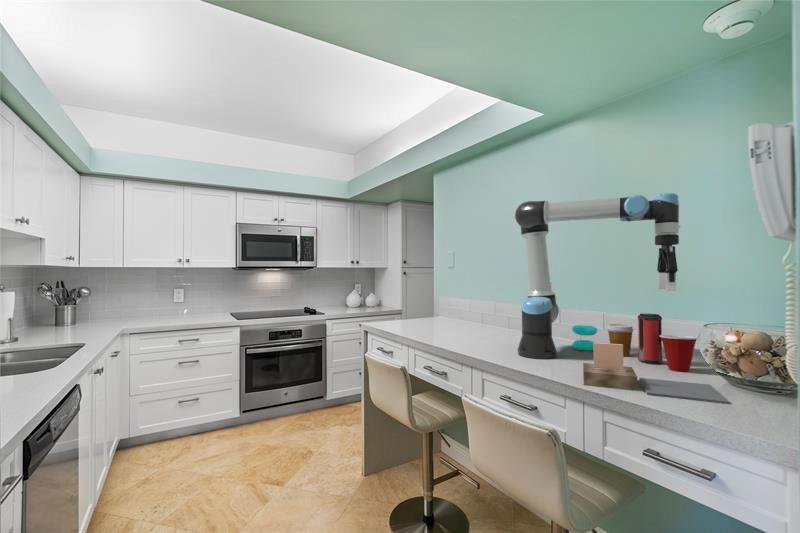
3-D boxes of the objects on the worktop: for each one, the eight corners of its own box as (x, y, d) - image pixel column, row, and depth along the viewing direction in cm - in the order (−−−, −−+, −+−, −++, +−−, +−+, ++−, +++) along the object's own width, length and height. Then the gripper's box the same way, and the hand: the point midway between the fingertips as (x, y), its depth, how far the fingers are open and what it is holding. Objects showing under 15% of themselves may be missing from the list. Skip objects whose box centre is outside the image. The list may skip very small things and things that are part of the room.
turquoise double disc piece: (590, 324, 172) (601, 328, 162) (590, 346, 172) (602, 351, 162) (568, 324, 172) (578, 328, 162) (568, 346, 172) (578, 351, 162)
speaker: (633, 359, 146) (632, 313, 146) (652, 359, 147) (651, 312, 147) (647, 364, 139) (647, 315, 139) (667, 364, 139) (667, 315, 139)
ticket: (594, 381, 119) (593, 343, 119) (594, 380, 120) (593, 342, 120) (623, 384, 116) (622, 345, 116) (623, 383, 117) (622, 344, 117)
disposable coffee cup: (626, 352, 159) (626, 324, 159) (638, 357, 150) (638, 327, 150) (603, 352, 160) (602, 323, 160) (613, 357, 150) (613, 327, 151)
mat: (647, 394, 106) (647, 392, 106) (639, 379, 120) (639, 377, 120) (729, 404, 98) (729, 401, 98) (709, 386, 113) (709, 384, 113)
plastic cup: (689, 366, 135) (688, 333, 135) (704, 375, 125) (704, 338, 125) (654, 365, 138) (654, 332, 138) (666, 372, 128) (666, 337, 128)
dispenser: (583, 384, 116) (583, 370, 116) (583, 374, 126) (583, 361, 126) (637, 390, 110) (637, 375, 110) (632, 379, 120) (631, 366, 120)
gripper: (688, 231, 132) (688, 292, 132) (670, 236, 155) (670, 288, 155) (662, 232, 135) (662, 291, 135) (648, 237, 158) (648, 288, 158)
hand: (666, 290), depth 145 cm, fingers open, 13 cm apart
